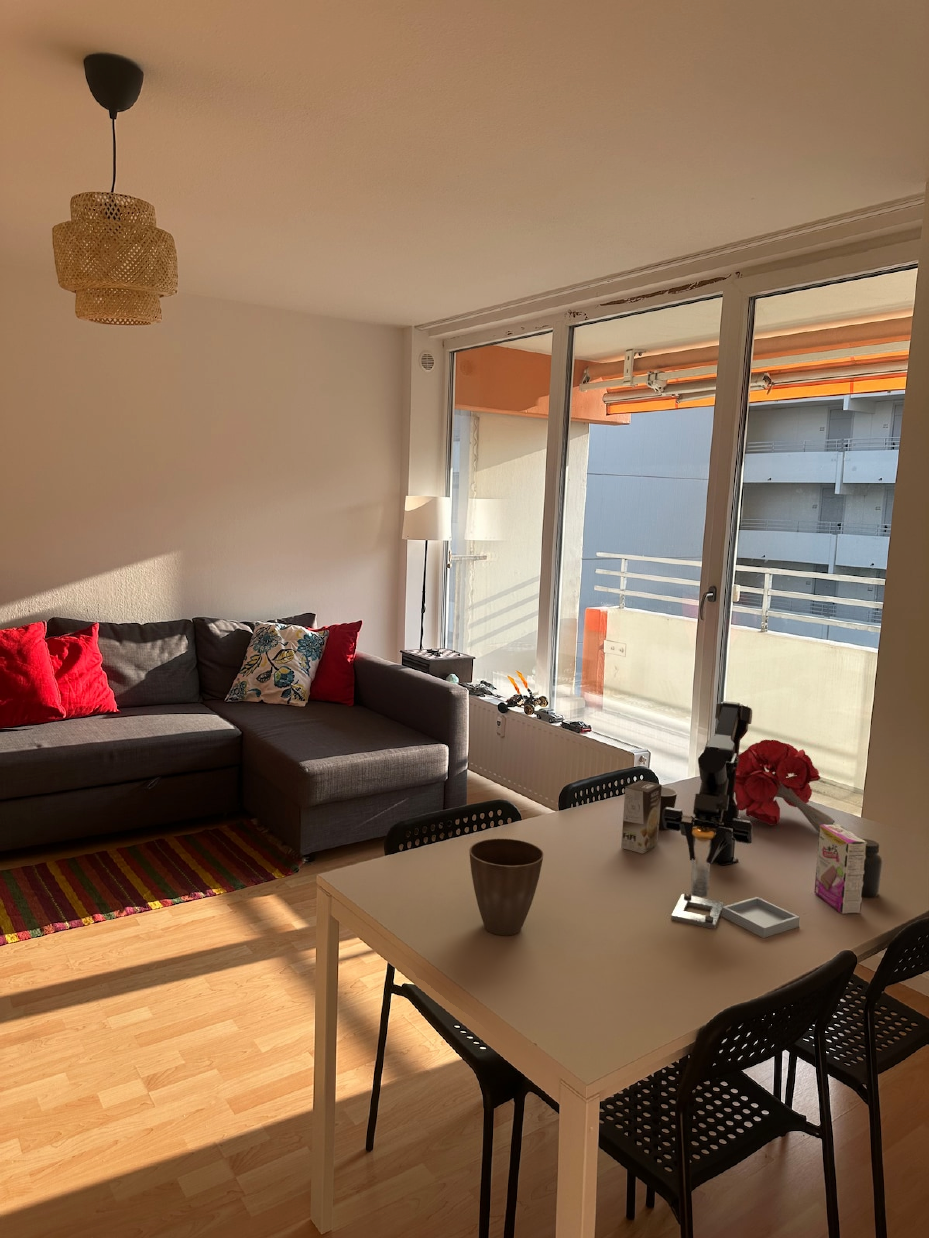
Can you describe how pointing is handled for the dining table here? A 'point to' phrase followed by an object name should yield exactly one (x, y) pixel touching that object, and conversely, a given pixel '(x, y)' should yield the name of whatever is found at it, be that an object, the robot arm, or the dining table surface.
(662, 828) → the coffee mug
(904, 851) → the dining table surface
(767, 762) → the bouquet
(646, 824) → the coffee box
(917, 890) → the dining table surface
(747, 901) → the tray
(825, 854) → the candy bar box
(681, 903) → the plate
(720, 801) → the robot arm
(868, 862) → the supplement bottle
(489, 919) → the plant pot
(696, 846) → the orange capped tube
